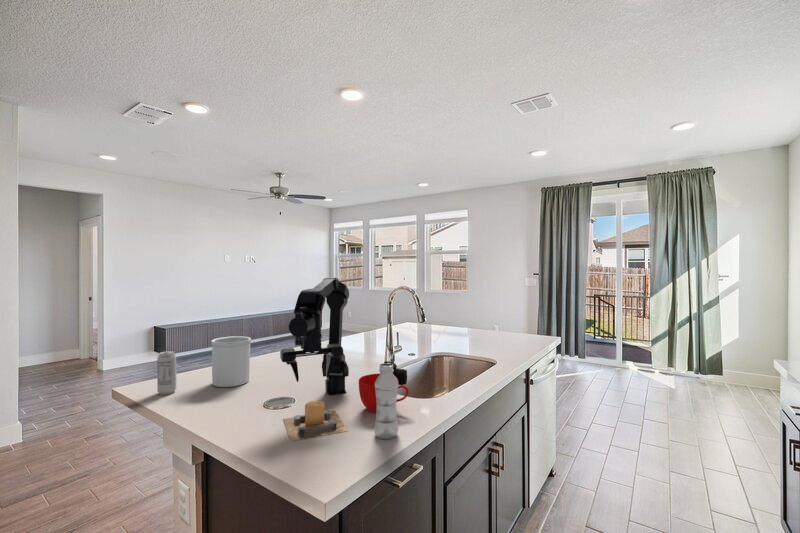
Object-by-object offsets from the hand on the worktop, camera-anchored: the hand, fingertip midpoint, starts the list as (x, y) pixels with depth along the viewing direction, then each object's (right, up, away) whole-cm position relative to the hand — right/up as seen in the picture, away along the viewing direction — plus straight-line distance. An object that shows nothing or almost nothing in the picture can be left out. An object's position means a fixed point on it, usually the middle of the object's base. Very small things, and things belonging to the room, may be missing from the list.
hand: (312, 379), depth 117 cm
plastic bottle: (+24, -12, -15) cm, 30 cm away
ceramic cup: (+22, -12, +4) cm, 26 cm away
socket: (+2, -12, -8) cm, 14 cm away
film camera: (+25, -12, +30) cm, 41 cm away
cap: (+2, -11, -8) cm, 14 cm away
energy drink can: (-60, -12, +22) cm, 65 cm away
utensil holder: (-41, -12, +35) cm, 55 cm away
